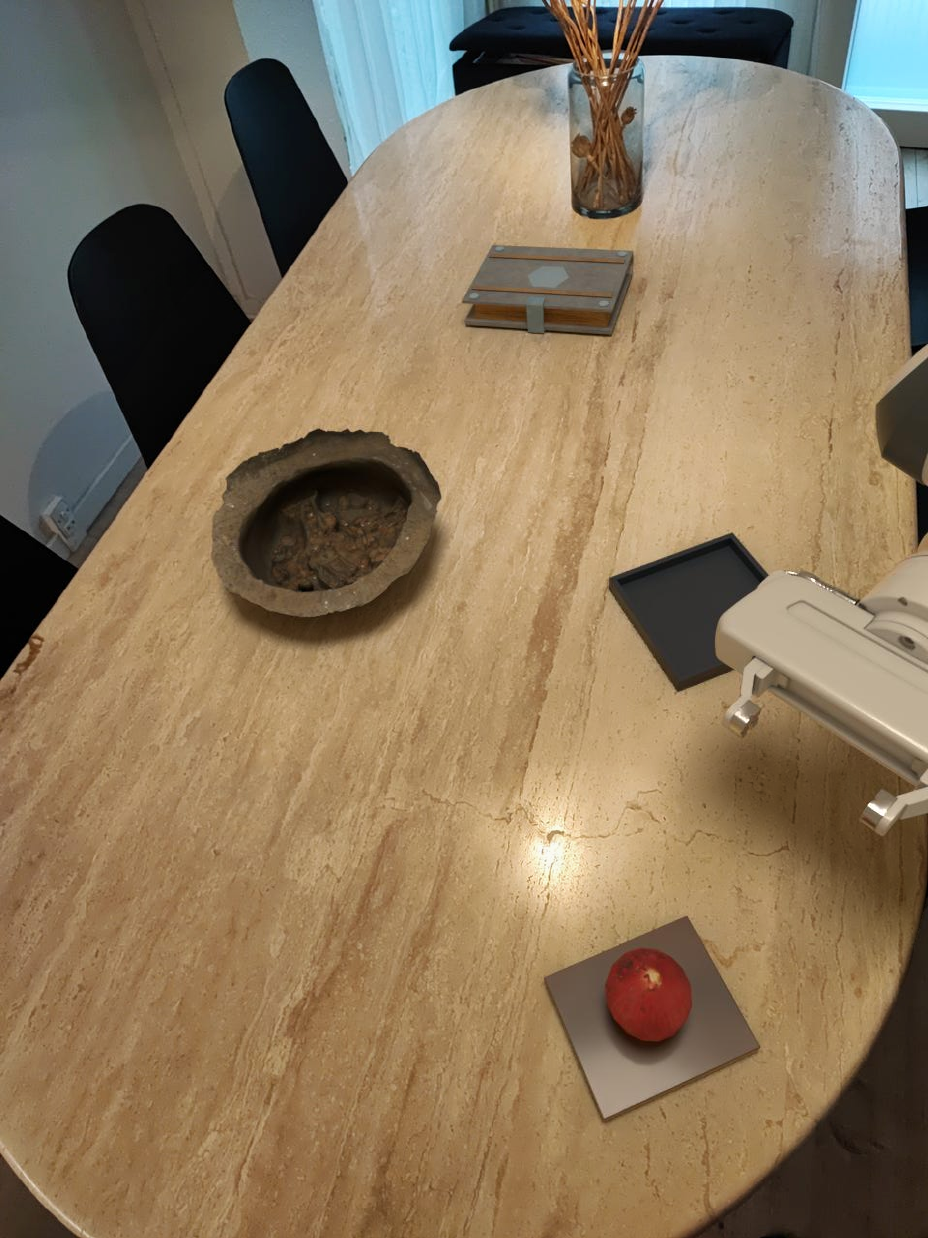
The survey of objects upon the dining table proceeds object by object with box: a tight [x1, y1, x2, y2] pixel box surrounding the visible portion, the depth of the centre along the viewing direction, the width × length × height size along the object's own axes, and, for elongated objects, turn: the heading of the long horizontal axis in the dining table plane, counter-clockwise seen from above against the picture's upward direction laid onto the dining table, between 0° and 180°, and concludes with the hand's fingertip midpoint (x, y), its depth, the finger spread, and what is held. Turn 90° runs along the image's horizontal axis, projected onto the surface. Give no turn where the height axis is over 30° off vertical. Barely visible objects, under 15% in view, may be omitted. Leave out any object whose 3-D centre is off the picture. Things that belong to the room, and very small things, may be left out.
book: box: [461, 244, 635, 336], centre depth 121 cm, size 21×16×5 cm
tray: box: [608, 531, 770, 692], centre depth 84 cm, size 14×14×2 cm
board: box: [543, 915, 761, 1124], centre depth 62 cm, size 10×12×1 cm
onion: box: [605, 948, 692, 1042], centre depth 58 cm, size 6×6×8 cm
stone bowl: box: [210, 428, 442, 618], centre depth 92 cm, size 25×25×9 cm
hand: (798, 773), depth 51 cm, fingers open, 8 cm apart
